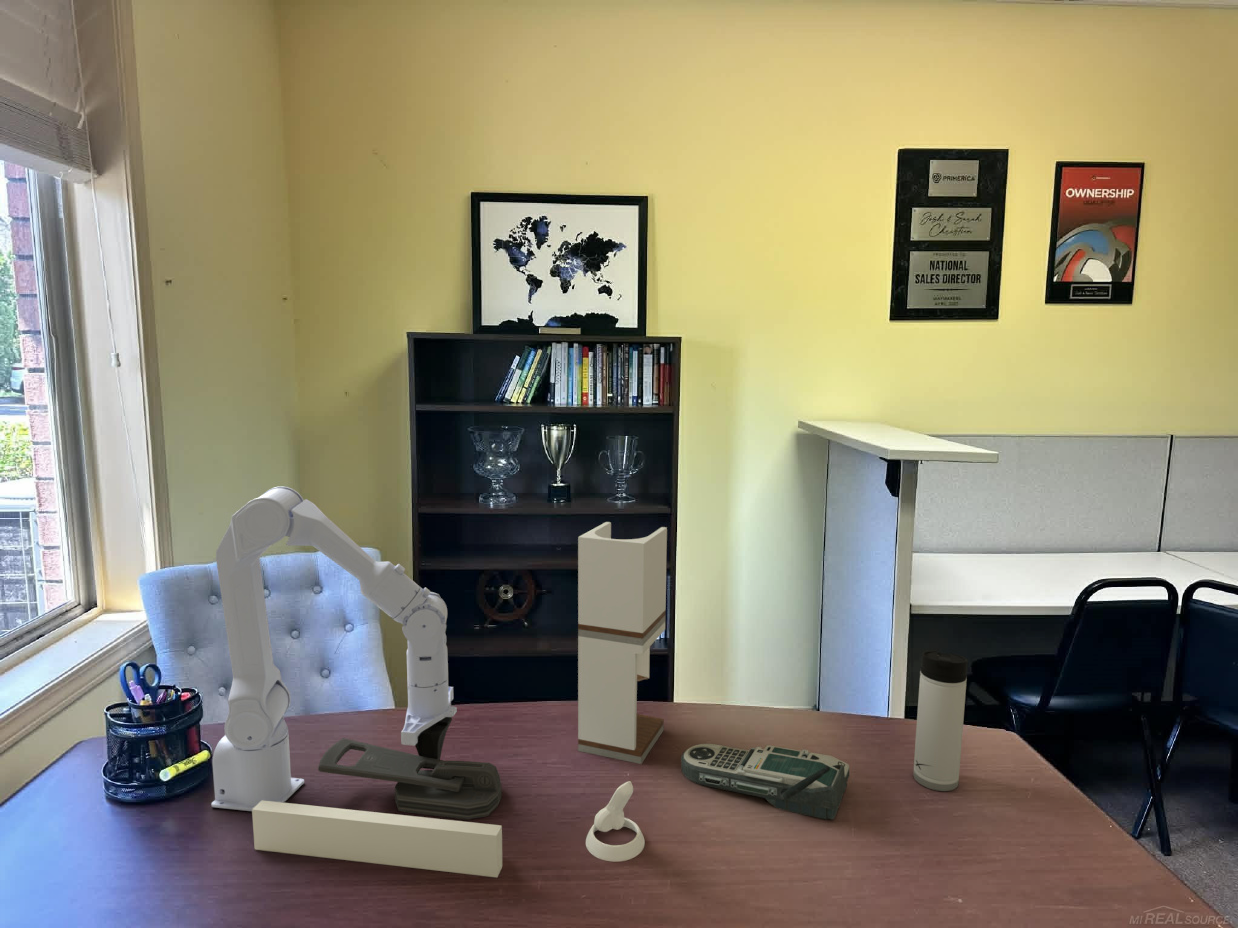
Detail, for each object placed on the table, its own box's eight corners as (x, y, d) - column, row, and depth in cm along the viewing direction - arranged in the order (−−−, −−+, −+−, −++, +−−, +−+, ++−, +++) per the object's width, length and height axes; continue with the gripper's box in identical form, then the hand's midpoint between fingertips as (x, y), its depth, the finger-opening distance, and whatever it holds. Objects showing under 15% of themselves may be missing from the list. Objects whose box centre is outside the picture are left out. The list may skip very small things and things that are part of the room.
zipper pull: (339, 734, 112) (506, 741, 110) (341, 776, 113) (506, 783, 111) (311, 766, 103) (491, 775, 101) (313, 811, 104) (492, 821, 102)
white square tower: (641, 763, 117) (643, 543, 112) (578, 750, 121) (578, 536, 116) (663, 730, 128) (666, 527, 123) (605, 719, 131) (606, 521, 126)
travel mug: (912, 787, 111) (921, 658, 108) (913, 765, 117) (922, 642, 114) (959, 797, 109) (969, 665, 106) (957, 773, 115) (967, 648, 112)
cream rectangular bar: (254, 849, 96) (252, 809, 95) (273, 829, 100) (271, 791, 99) (497, 877, 91) (496, 835, 91) (507, 855, 95) (506, 815, 95)
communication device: (698, 749, 123) (699, 698, 121) (849, 787, 112) (852, 730, 111) (669, 786, 112) (669, 730, 111) (833, 831, 101) (835, 770, 100)
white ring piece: (633, 852, 88) (595, 803, 91) (605, 888, 96) (570, 842, 99) (675, 813, 93) (637, 768, 96) (645, 850, 101) (611, 808, 104)
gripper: (434, 703, 102) (437, 797, 104) (471, 660, 116) (473, 744, 118) (385, 699, 103) (388, 792, 105) (427, 657, 117) (430, 740, 119)
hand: (430, 766), depth 111 cm, fingers closed
